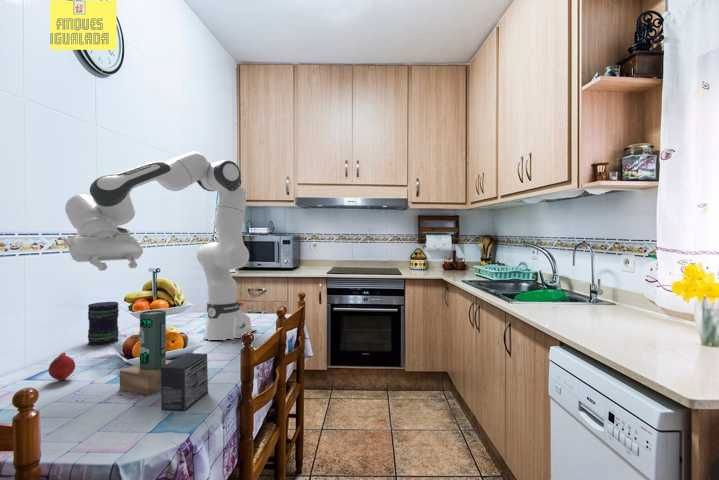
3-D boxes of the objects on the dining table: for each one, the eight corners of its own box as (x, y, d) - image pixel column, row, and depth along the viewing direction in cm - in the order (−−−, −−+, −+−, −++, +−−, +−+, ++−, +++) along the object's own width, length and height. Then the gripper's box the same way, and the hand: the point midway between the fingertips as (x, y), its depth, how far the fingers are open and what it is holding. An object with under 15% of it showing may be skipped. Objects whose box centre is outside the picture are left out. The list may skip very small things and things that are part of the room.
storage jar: (91, 340, 144) (92, 302, 144) (121, 337, 148) (121, 301, 148) (84, 347, 135) (84, 307, 135) (115, 344, 139) (115, 305, 139)
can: (142, 364, 102) (142, 310, 102) (166, 361, 105) (166, 309, 105) (138, 371, 97) (138, 315, 97) (164, 368, 99) (164, 313, 99)
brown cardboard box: (156, 374, 108) (156, 357, 108) (183, 380, 104) (183, 362, 104) (119, 388, 98) (119, 370, 98) (148, 395, 93) (148, 376, 93)
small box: (185, 391, 96) (185, 352, 96) (209, 392, 95) (209, 353, 95) (159, 410, 86) (159, 365, 85) (185, 412, 85) (185, 367, 85)
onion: (59, 385, 100) (59, 356, 100) (43, 384, 101) (43, 355, 101) (80, 377, 105) (80, 350, 105) (64, 376, 106) (64, 349, 106)
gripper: (66, 228, 105) (88, 262, 101) (134, 229, 124) (154, 259, 120) (57, 243, 106) (78, 278, 103) (125, 242, 125) (144, 272, 122)
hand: (119, 268), depth 112 cm, fingers open, 8 cm apart
